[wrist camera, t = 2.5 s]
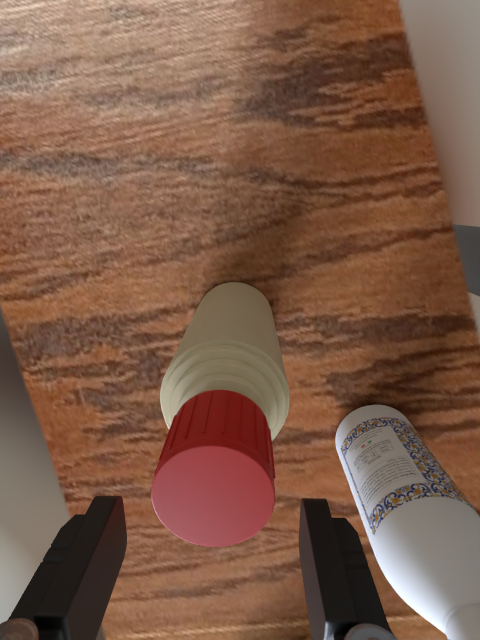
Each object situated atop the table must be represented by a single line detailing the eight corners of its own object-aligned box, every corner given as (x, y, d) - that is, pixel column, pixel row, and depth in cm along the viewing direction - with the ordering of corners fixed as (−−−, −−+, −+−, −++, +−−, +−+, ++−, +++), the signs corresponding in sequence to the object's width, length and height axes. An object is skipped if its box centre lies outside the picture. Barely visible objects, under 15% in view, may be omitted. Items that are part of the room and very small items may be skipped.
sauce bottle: (273, 281, 31) (312, 404, 12) (271, 354, 33) (304, 561, 14) (195, 281, 31) (111, 403, 12) (198, 354, 33) (129, 558, 14)
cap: (271, 388, 16) (278, 444, 12) (269, 474, 17) (275, 549, 13) (169, 388, 16) (144, 443, 12) (174, 473, 17) (154, 547, 13)
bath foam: (412, 461, 36) (600, 756, 17) (338, 472, 36) (438, 769, 17) (408, 396, 34) (615, 645, 15) (329, 408, 34) (432, 663, 15)
